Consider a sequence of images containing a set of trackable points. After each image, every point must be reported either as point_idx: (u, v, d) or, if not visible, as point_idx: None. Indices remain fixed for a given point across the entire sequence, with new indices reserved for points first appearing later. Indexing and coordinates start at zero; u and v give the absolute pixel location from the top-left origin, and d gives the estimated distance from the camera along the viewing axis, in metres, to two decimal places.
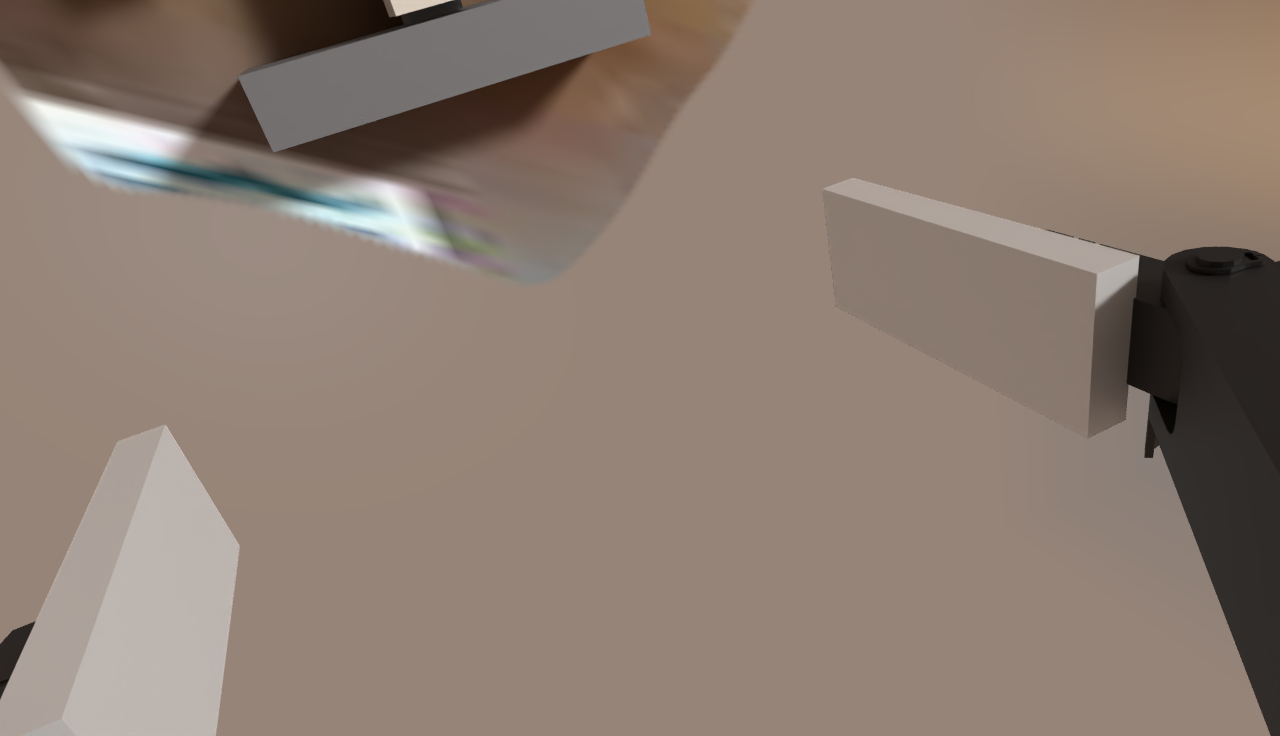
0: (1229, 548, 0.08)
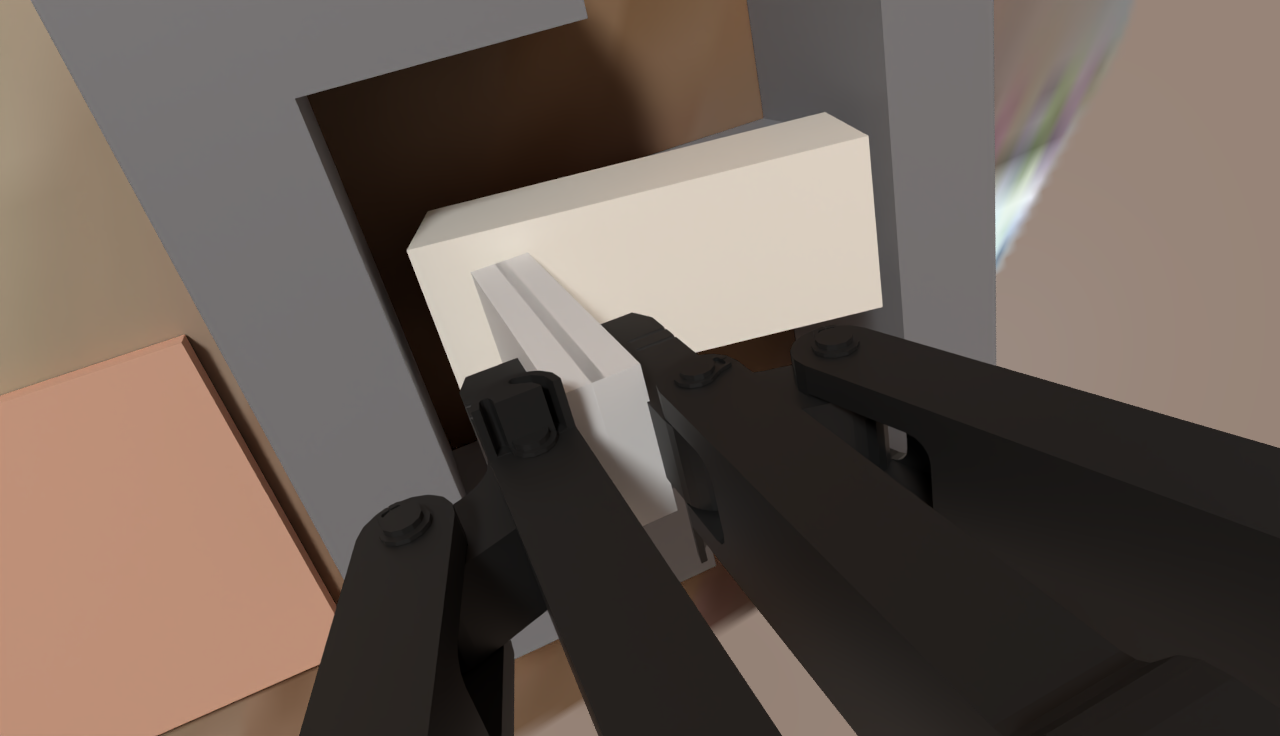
0: (826, 655, 0.08)
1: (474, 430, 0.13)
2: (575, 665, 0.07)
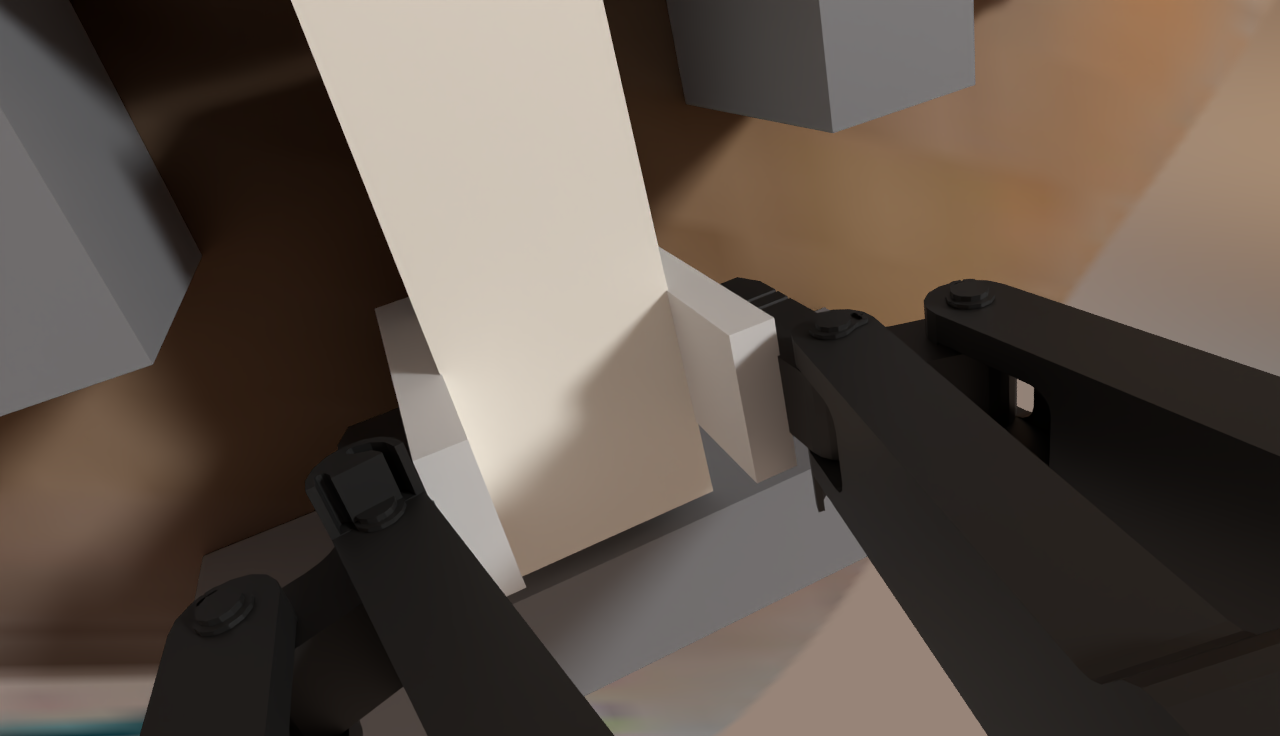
0: (929, 602, 0.09)
1: None
2: None
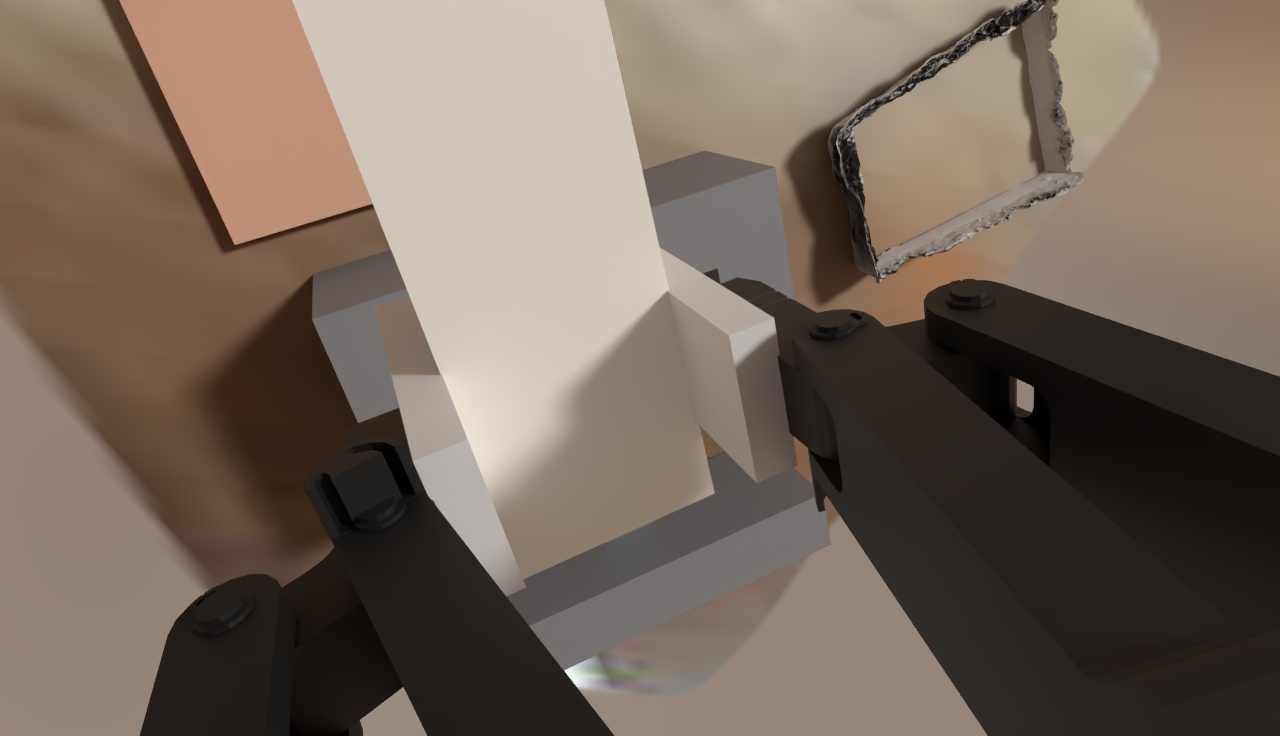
0: (929, 602, 0.09)
1: None
2: None
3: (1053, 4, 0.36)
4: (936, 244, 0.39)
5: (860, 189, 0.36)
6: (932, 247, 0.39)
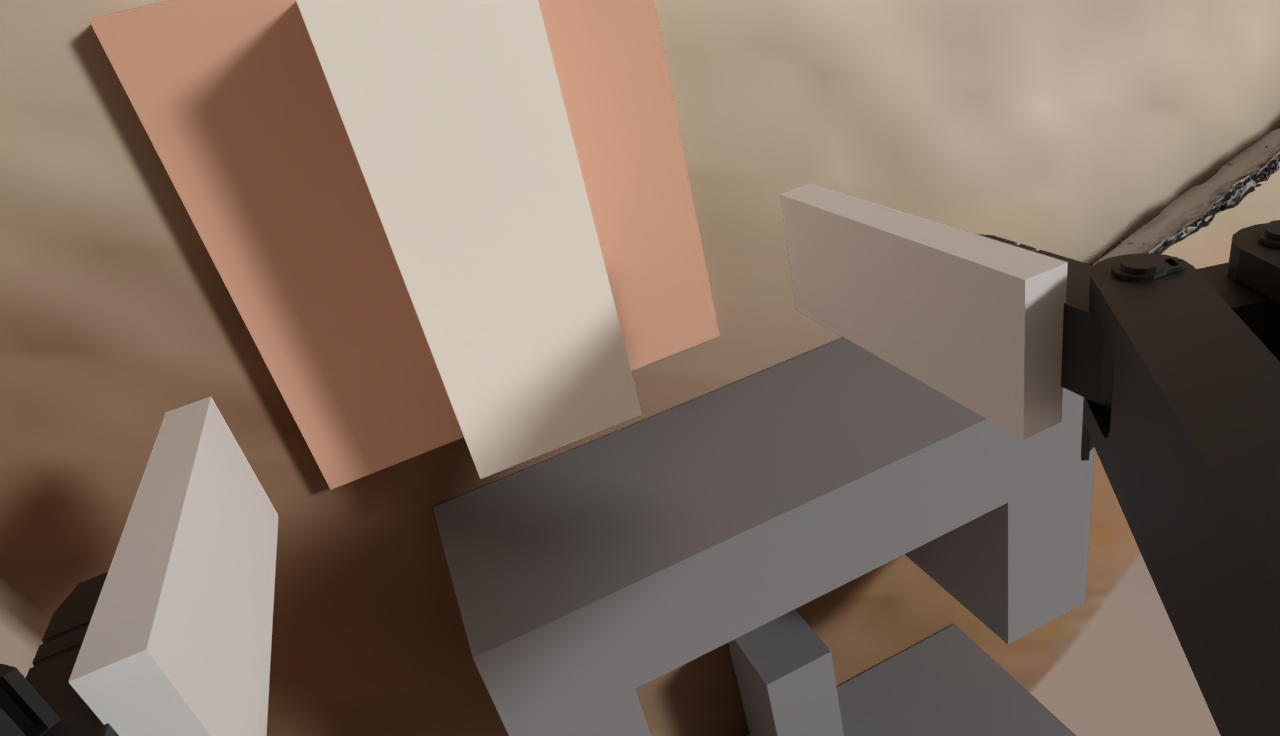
0: (1170, 550, 0.08)
1: None
2: None
3: None
4: None
5: None
6: None
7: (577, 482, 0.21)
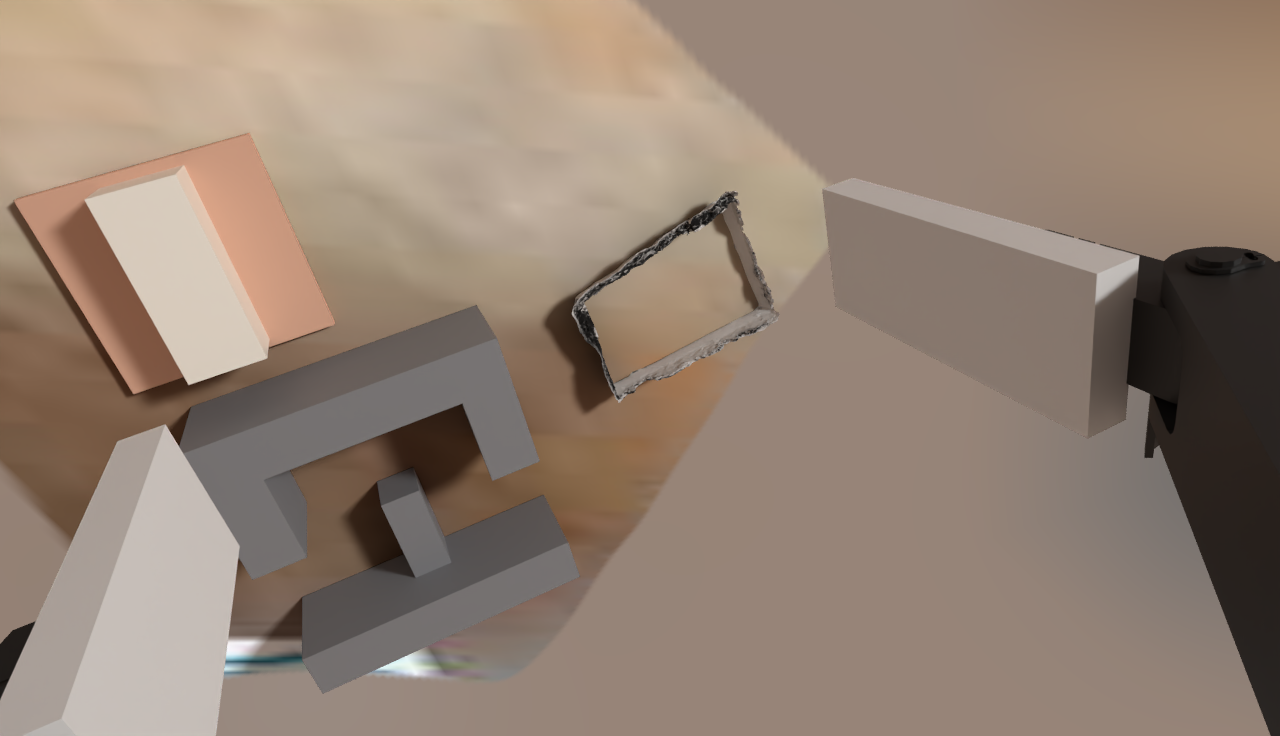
0: (1229, 548, 0.08)
1: None
2: None
3: (736, 204, 0.51)
4: (666, 369, 0.54)
5: (596, 341, 0.50)
6: (662, 372, 0.53)
7: (257, 393, 0.44)
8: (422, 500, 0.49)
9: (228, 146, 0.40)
